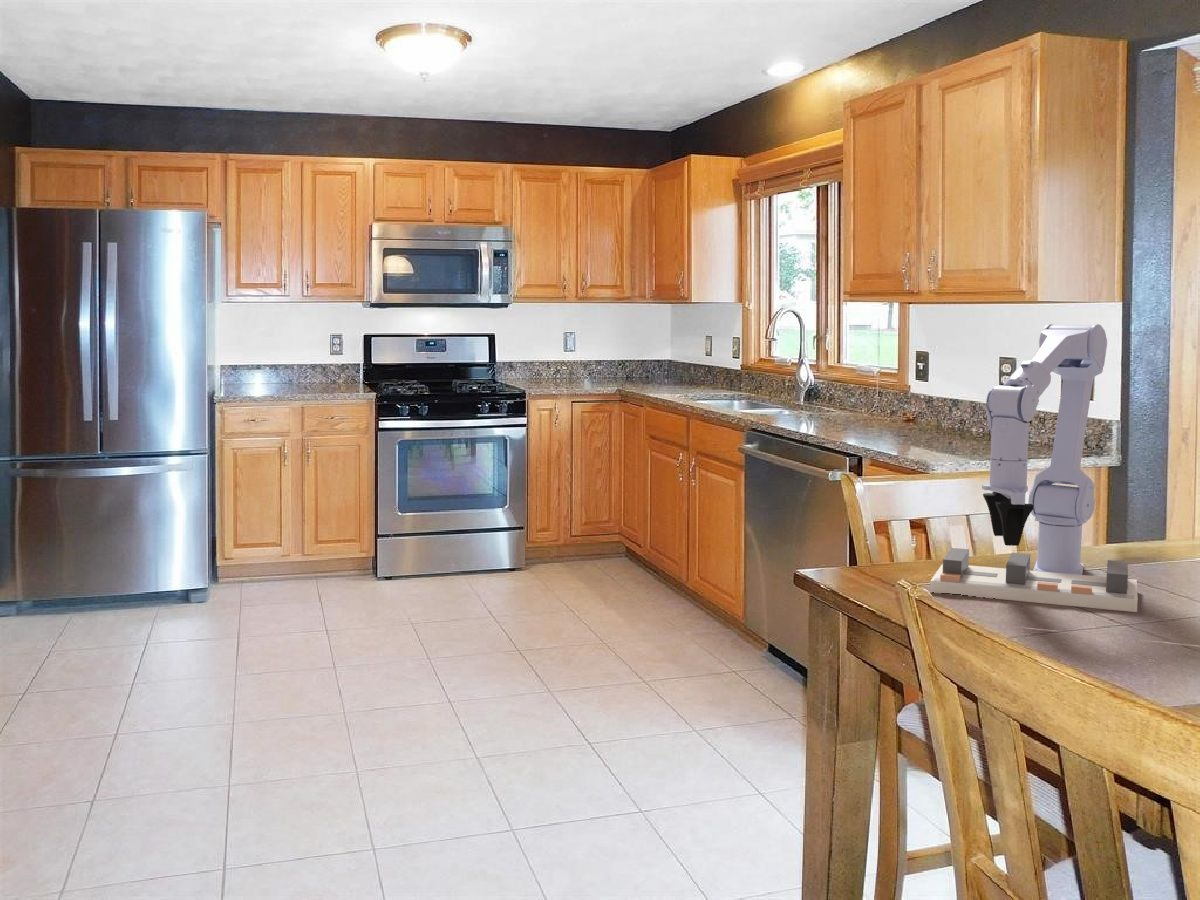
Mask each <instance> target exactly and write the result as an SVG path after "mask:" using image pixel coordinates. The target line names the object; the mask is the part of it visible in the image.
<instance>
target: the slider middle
mask: <svg viewBox="0 0 1200 900" xmlns="http://www.w3.org/2000/svg"><path fill="white" fill-rule="evenodd" d="M1005 569H1006V583H1015V584H1025V583H1026V580H1027V578H1028V575H1029V572H1030V571H1031V553H1023V552H1022V553H1020V552H1011V553H1010V556H1009V557H1008V559H1007V563H1006V564H1005Z"/></svg>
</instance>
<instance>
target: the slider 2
mask: <svg viewBox="0 0 1200 900" xmlns="http://www.w3.org/2000/svg"><path fill="white" fill-rule="evenodd" d="M1128 564H1129V563H1128V561H1122V560H1110V559H1107V566H1106V567H1107V568H1106V577H1107V581H1106V592H1116V593H1127V582H1128V579H1129V577H1128V576H1129V570H1128V569H1129V565H1128Z"/></svg>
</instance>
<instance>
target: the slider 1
mask: <svg viewBox="0 0 1200 900" xmlns="http://www.w3.org/2000/svg"><path fill="white" fill-rule="evenodd" d="M969 560H970V549H969V548H958V547H951V548H950V549H949V551H948V552H947V553H946V554H945V556H944V558H943V559H942V564H943V573H947V574H958V575H960V579H961V578H962V576H963V575H964V573H965V571H966V570H967V568H968V566H969V564H970V563H969V562H970V561H969Z"/></svg>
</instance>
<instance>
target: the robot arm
mask: <svg viewBox="0 0 1200 900" xmlns="http://www.w3.org/2000/svg"><path fill="white" fill-rule="evenodd" d="M1038 344H1039V345H1038V347H1039V348H1038V350H1037V351H1036V353H1035V354H1034V356H1033V358H1032V360H1023V361H1022V362H1021V364H1019V366H1018V367H1017V368H1016V369H1015V370H1014V371H1013V372H1012V373H1011V375H1010V376H1009V377H1008V378H1007V380H1006V381H1005V382H1004V383H1003V385H996V386H995V387H993V388H991V389H990V390H989V391H988V393H987V395H986V399H985V404H984V407H985V414H986V416H987V421H988V422H987V427H988V430H989V431H991V434H990V435H991V436H990V437H991V438H990V465H989V483H986V484H985V483H984V484H982V485H981V489H982V490H984V491H990V492H986V493H985V492H984V493H983V494H982V496H983V498H984V501H985V502H986V504H987V508H988V512H989V515H990V521H991V528H992V533H993V535H994V536H995V537H1002V539H1003V543H1004V546H1007V547H1008V546H1009V547H1010V546H1011V547H1013V546H1017V547H1019V545H1020V543H1021V540H1022V535H1023V531H1024V528H1025V525H1026V522H1027V521H1028V518H1029V516H1030V514H1032V516H1033V517H1035V518H1034V521H1035V522H1038V532H1037V556H1036V557H1037V558H1036V561H1035V563H1034V567H1033V570H1032V571H1041V572H1053V573H1064V574H1076V575H1083V571H1084V566H1085V565H1084V563H1083V562H1081V560H1082V559H1081V558H1082V539H1083V536H1082V535H1083V524H1087V522H1088V521H1089V520H1090V519H1091V518H1092V517H1093V514H1094V512H1095V505H1096V504H1095V499H1096V498H1095V483H1094V481H1093V480H1092V478H1091V477H1089V476H1088V474H1086V473H1085V472H1084V471H1083V470H1082V469H1081V464H1082V457H1083V451H1084V450H1083V449H1084V443H1085V436H1086V430H1087V425H1088V424H1087V422H1088V418H1089V417H1088V416H1089V410H1090V409H1089V408H1090V403H1091V397H1092V396H1091V395H1092V390H1093V384H1094V378H1095V377H1097V376H1099V375H1101V374H1102V373H1103V372H1104V366H1105V362H1106V355H1107V350H1108V349H1107V348H1108V339H1107V335H1106V331H1105V329H1104V327H1103V326H1102V325H1101V324H1099V323H1095V324H1053V323H1052V324H1051V323H1049V324H1046V325H1045V326H1044V327H1043V328H1042V330H1041V332H1040V334H1039V340H1038ZM1052 372H1053V373H1055V374H1056V375H1059V376H1060V377H1061V379H1062V385H1061V393H1060V399H1059V404H1058V405H1059V406H1058V413H1057V419H1056V426H1055V433H1054V439H1053V445H1052V453H1051V458H1050V465H1049V466H1048V467H1046V468H1045V469H1042V470H1041V471H1039V472H1038V473H1037V474H1035V477H1034V480H1033V485H1032V487H1031V489H1030V491H1029V495H1028V503H1026V495H1027V494H1026V493H1027V492H1028V489H1029V488H1028V487H1029V486H1028V484H1027V483H1028V459H1029V458H1028V457H1029V455H1028V454H1029V435H1030V434H1029V433H1030V432H1029V431H1030V430H1029V429H1030V427H1029V426H1030V421H1032V420H1033V419H1034V418H1035V415H1036V411H1037V407H1038V405H1039V402H1040V399H1039V398H1040V397H1042V394H1044V392H1045V391H1046V389H1048V387H1049V385H1050V384H1051V380H1052V376H1051V373H1052ZM1070 485H1071V486H1070Z"/></svg>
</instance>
